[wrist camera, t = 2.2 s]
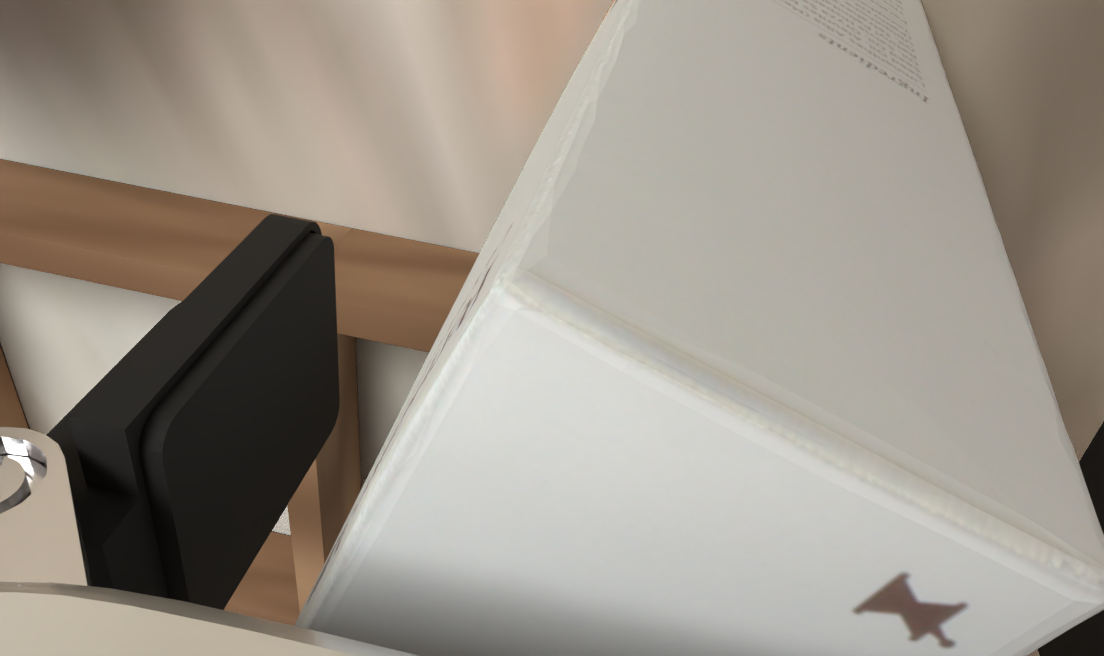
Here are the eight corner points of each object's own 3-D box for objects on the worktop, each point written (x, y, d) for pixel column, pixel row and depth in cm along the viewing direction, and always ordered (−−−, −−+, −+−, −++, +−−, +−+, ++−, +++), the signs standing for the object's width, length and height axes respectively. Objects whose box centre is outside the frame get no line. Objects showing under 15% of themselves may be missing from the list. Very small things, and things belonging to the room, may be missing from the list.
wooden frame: (-102, 139, 21) (-196, 190, 19) (813, 319, 19) (817, 398, 17) (27, 491, 28) (-31, 556, 26) (700, 649, 26) (694, 733, 24)
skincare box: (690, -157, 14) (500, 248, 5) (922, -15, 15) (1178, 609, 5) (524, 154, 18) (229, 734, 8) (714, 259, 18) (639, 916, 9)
